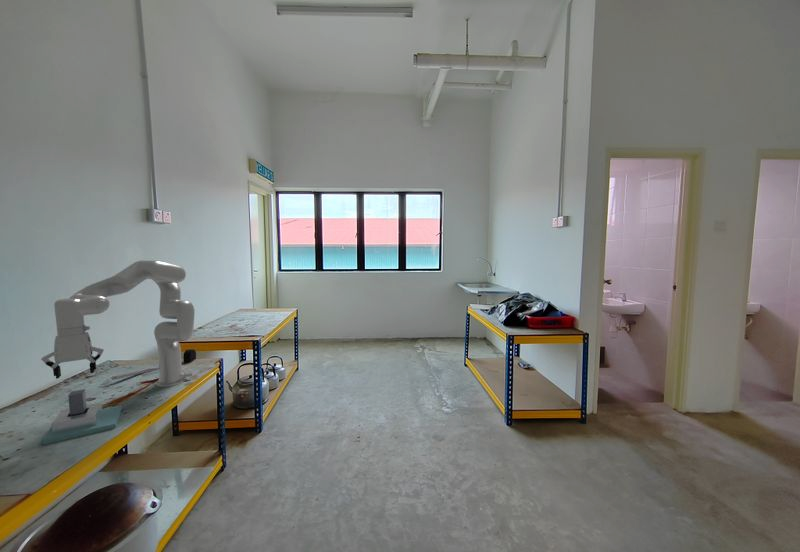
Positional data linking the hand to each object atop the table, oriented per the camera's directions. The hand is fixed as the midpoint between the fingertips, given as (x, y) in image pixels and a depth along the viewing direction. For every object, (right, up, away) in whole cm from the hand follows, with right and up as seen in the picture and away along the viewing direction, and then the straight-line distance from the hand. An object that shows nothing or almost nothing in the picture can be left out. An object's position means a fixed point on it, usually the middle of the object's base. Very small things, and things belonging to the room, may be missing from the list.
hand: (75, 374), depth 130 cm
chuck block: (+2, -21, +3) cm, 21 cm away
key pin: (0, -19, +2) cm, 19 cm away
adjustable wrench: (-20, -17, +40) cm, 48 cm away
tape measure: (-2, -14, +77) cm, 79 cm away
